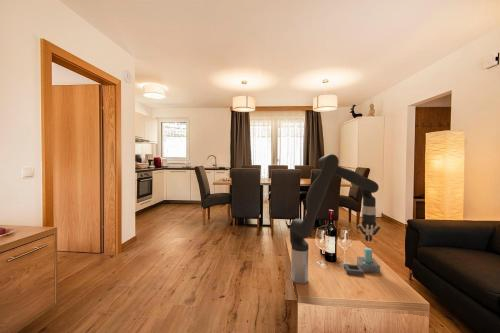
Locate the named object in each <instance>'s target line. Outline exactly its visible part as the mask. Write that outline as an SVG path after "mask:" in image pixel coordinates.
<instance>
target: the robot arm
mask: <svg viewBox="0 0 500 333" xmlns="http://www.w3.org/2000/svg"><path fill="white" fill-rule="evenodd" d="M339 163H340V161H339V158H338V156H337V155H336V154H333V153H330V154H326V155H323V156H322V157H320V158H319V159H318V161H317V166H318V167H319V169H320V170H321V171H320V173H319V175H318V176H317V177H316V179H315V180H314V181H313V182H312V183H311V185H310V186H309V188H308V191H307V193H306V196H305V203H306V205H305V206H306V213H305V215H304V218H303V219H301V218H295V219H292V221H291V222H290V225H289V240H290V241H289V242H290V244H291V245H290V246H291V262H290V264H291V265H290V272H291V273H290V280H291V281H292V282H293V283H294V284H295V283H296V284H304V285H305V284H306V283H308V282H309V244H308V242H307V241H306V240H305V239H308V238H309V237H310V235H312V232H313V229H314V226H315V222H316V219H317V216H318V213H319V211H320V208H321V205H322V203H323V201H324V198H325V196H326V193H327V190H328V188H329V185H330V183H331V180H332V178H333V176H334V175H335V176H337V177H339V178H341V179H344V180H345V181H347V182H348V183H350V184H352V185H354V186H356V187H358V188H360V191H361V196H362V210H361V216H362V217H361V223H360V224H357V228H358V229H359V230H360V232H361V234H363V235H364V240H365V241H366V242H372V240H373V236H375V235H376V234H377V233H378V232H379V230H380V229H381V226H379V225H378V224H377V208H376V202H377V200H376V197H375V196H373V195H372V194H374V193H377V192H378V191H379V184H378V183H377V182H376V181H375V180H373V179H370V178H367V177H365V176H363V175H362V174H361V173H357V172H356V171H355V170H351V169H348V168H345V167H342V166H340V165H339Z"/></svg>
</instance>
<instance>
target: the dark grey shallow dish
mask: <svg viewBox="0 0 500 333" xmlns="http://www.w3.org/2000/svg"><path fill="white" fill-rule="evenodd" d="M343 269H344V270H345V273H346V275H351V276H360V277H362V276H364V273H365V272H364V271H363V270H362V268H361V267H360V265H357V264H353V263H344V264H343Z"/></svg>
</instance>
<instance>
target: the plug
mask: <svg viewBox="0 0 500 333" xmlns="http://www.w3.org/2000/svg"><path fill="white" fill-rule="evenodd" d="M363 253H364V254H363V257H364V262H366V263H372V258H373V249H372V248H371V247H369V248H368V247H364V249H363Z"/></svg>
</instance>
